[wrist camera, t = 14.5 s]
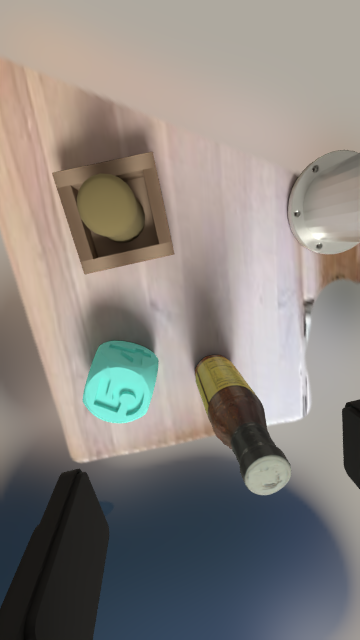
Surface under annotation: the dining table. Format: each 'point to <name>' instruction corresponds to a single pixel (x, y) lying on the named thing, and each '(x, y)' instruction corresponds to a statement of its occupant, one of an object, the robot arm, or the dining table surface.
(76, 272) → the dining table surface
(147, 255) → the shaker holder
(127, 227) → the cork
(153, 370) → the decorative dice
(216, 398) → the sauce bottle
